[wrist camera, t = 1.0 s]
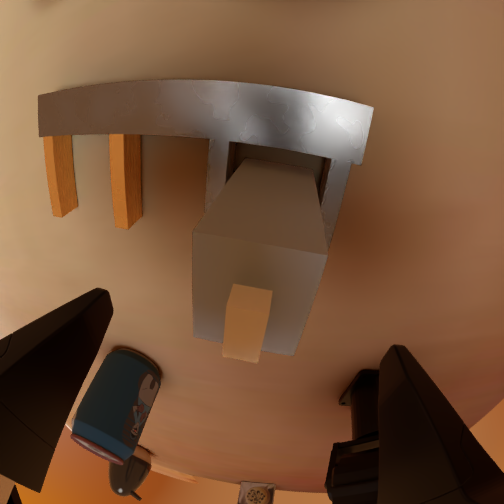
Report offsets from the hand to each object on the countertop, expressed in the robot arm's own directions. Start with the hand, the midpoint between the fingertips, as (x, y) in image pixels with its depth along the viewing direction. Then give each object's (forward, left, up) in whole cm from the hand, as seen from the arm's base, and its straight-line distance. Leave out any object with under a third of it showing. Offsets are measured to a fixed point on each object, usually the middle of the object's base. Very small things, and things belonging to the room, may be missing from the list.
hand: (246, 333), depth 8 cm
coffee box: (-76, -10, -10) cm, 78 cm away
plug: (0, 0, -10) cm, 10 cm away
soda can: (-21, +12, -10) cm, 27 cm away
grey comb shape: (+2, +6, -10) cm, 12 cm away
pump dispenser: (-65, +22, -10) cm, 70 cm away
